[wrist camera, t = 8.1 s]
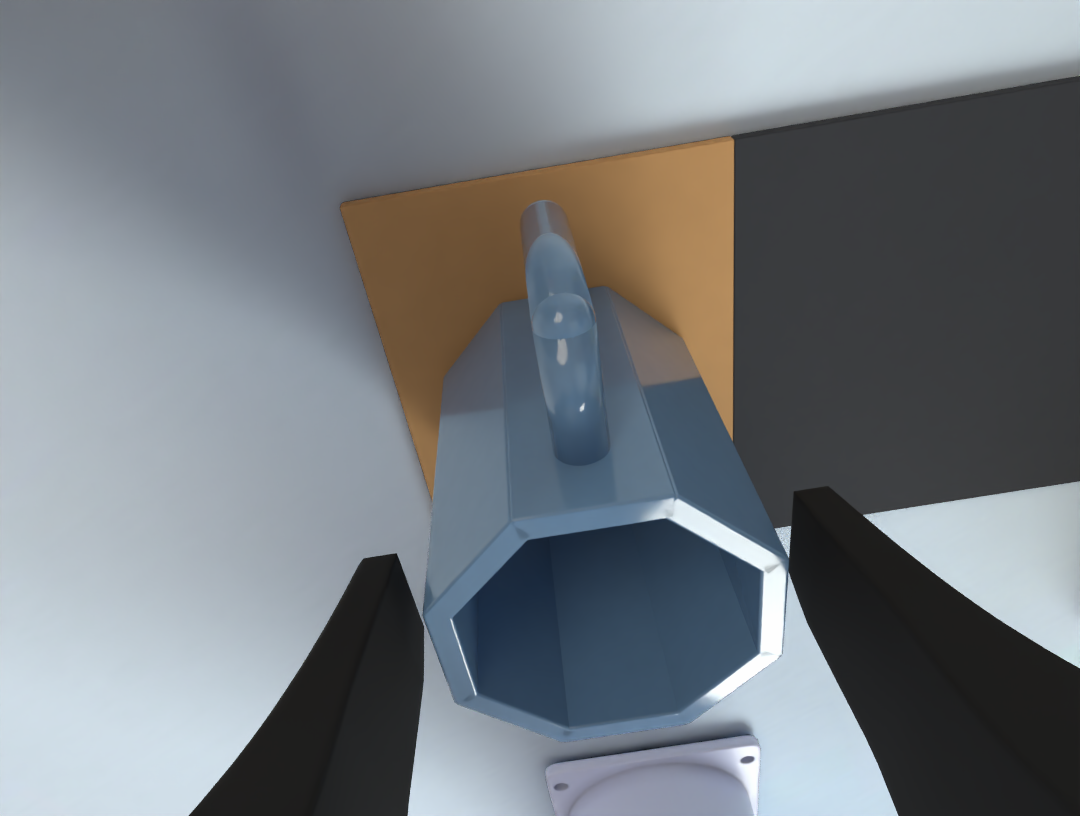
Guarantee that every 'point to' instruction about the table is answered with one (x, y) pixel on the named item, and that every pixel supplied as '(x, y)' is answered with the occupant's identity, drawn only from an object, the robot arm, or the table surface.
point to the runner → (799, 289)
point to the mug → (592, 517)
